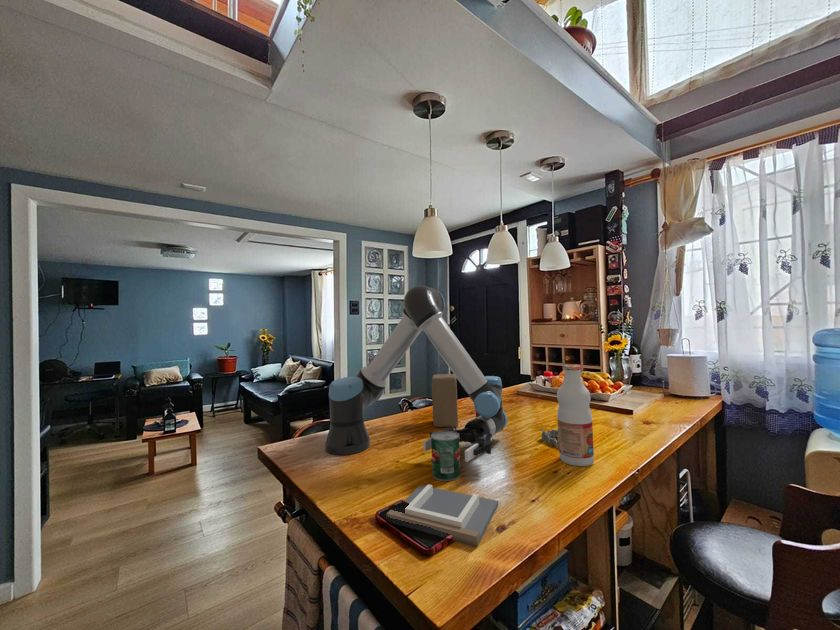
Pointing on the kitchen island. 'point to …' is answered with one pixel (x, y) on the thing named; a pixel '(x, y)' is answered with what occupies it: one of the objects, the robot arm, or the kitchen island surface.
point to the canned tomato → (445, 455)
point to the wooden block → (444, 400)
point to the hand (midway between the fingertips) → (444, 451)
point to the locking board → (449, 513)
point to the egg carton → (548, 436)
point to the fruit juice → (574, 419)
